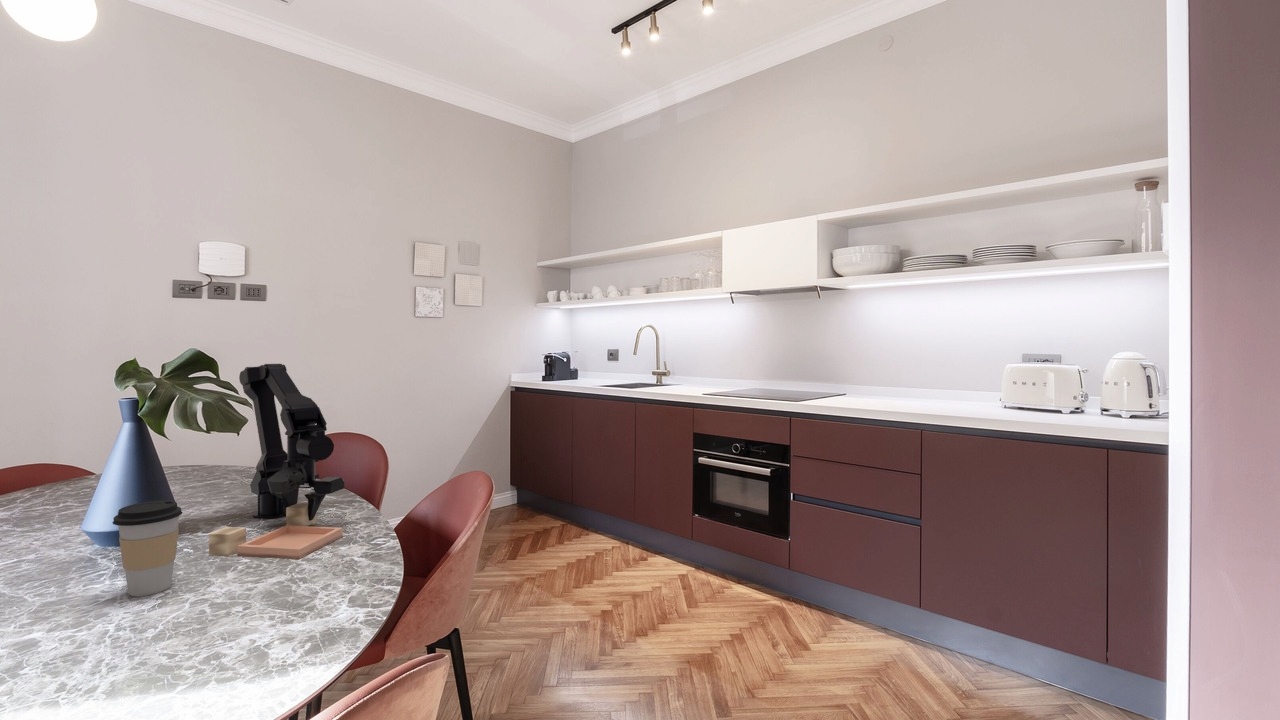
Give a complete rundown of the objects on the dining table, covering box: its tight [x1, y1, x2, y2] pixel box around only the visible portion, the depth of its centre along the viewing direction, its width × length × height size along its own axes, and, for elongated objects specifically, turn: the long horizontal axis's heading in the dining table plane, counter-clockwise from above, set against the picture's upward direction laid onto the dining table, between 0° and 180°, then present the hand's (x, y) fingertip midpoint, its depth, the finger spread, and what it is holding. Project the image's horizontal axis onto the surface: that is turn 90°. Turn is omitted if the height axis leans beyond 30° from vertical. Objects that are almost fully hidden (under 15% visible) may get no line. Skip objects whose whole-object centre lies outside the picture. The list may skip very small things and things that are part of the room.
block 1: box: [208, 526, 247, 557], centre depth 121 cm, size 4×4×4 cm
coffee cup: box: [112, 500, 183, 597], centre depth 102 cm, size 9×9×15 cm
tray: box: [236, 525, 344, 560], centre depth 125 cm, size 14×14×2 cm
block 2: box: [285, 502, 318, 526], centre depth 137 cm, size 4×4×4 cm
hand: (301, 519), depth 138 cm, fingers closed on block 2, 4 cm apart
